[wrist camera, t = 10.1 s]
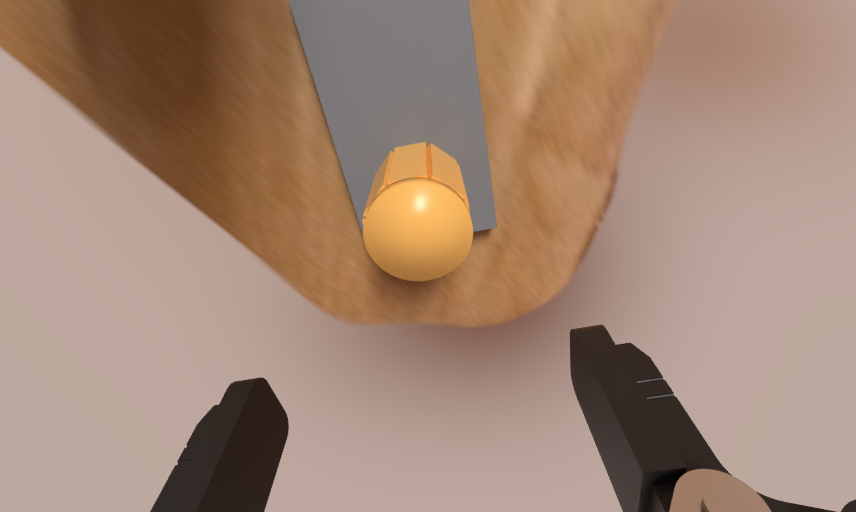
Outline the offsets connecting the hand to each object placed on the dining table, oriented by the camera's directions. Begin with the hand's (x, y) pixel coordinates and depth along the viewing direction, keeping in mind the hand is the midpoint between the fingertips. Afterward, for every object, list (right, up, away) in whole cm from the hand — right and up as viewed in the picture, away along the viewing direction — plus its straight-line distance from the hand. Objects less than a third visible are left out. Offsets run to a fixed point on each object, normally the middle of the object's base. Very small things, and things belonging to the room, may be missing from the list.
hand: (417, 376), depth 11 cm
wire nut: (0, +7, +12) cm, 14 cm away
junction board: (-1, +11, +12) cm, 16 cm away
